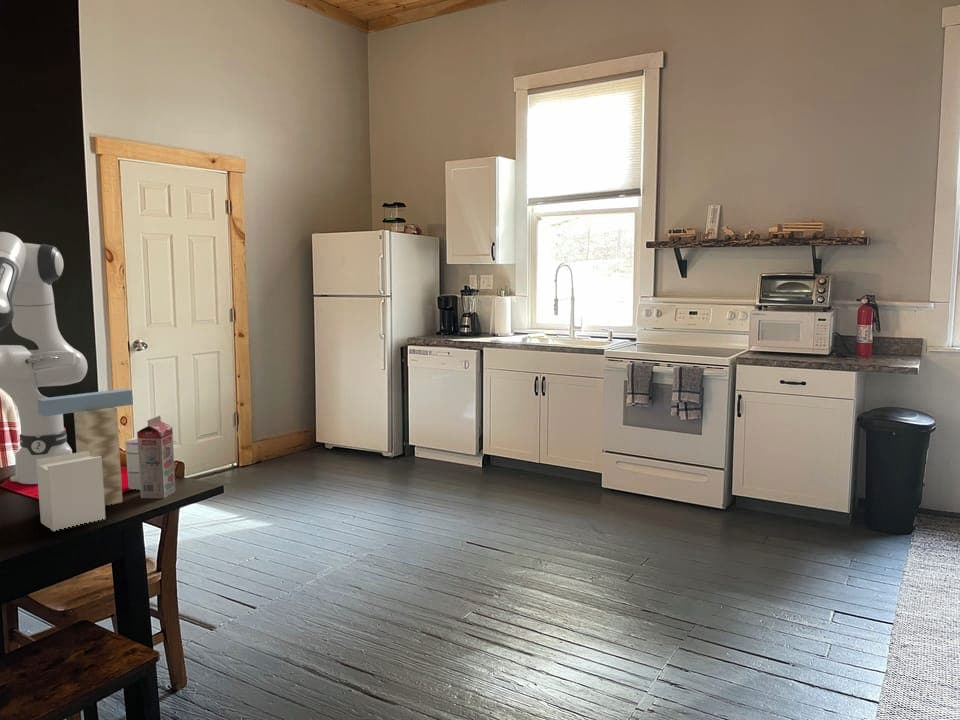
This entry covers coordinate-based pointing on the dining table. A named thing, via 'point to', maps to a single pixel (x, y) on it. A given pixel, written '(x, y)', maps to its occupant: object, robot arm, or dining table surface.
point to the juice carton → (156, 459)
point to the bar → (84, 402)
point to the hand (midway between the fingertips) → (64, 362)
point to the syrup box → (133, 463)
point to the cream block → (70, 490)
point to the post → (102, 447)
